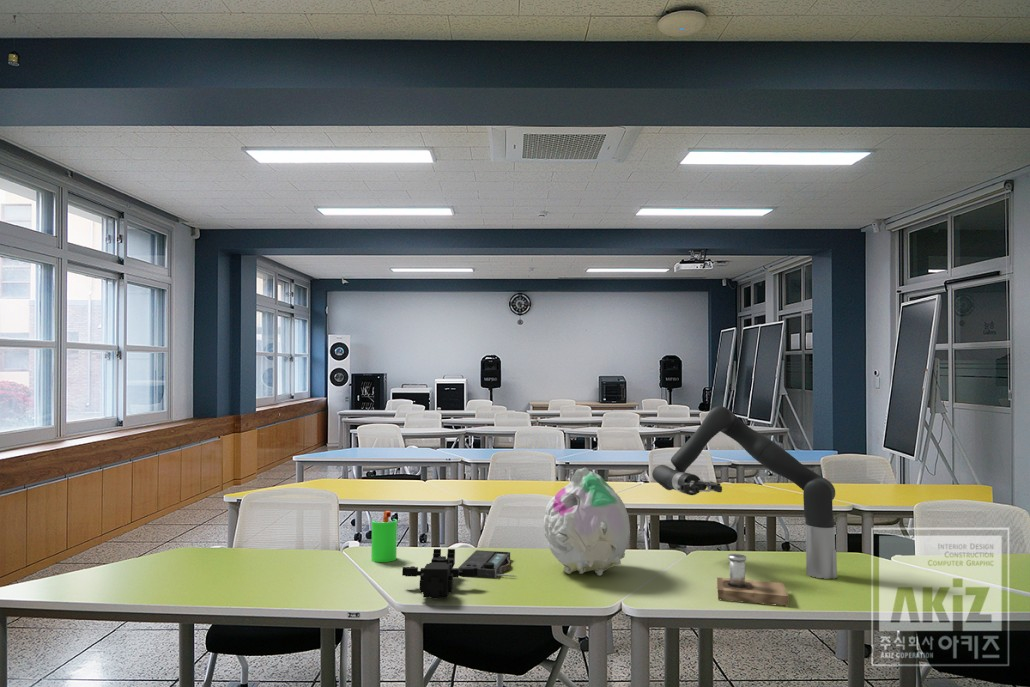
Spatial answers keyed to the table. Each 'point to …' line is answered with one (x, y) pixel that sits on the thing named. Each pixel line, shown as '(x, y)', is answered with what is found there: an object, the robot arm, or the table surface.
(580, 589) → the table surface
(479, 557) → the radio
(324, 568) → the table surface
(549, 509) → the sculpture
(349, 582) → the table surface
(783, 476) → the robot arm
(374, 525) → the green pencil cup
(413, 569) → the toy
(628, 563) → the table surface
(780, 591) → the block
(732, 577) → the silver metal peg
